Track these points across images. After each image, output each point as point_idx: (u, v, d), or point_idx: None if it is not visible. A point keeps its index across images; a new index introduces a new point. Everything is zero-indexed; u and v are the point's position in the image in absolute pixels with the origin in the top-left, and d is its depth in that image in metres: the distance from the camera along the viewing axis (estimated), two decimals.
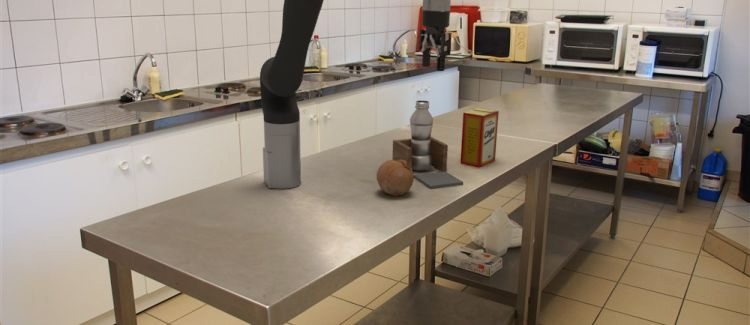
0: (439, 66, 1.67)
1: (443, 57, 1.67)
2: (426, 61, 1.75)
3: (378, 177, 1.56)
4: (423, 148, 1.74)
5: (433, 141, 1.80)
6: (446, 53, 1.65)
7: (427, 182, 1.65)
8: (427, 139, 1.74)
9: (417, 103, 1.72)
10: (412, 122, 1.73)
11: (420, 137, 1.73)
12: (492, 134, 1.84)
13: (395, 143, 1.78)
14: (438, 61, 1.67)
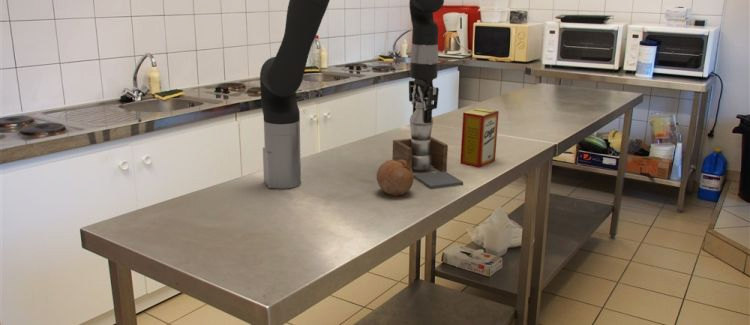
0: (426, 119, 1.70)
1: (430, 110, 1.70)
2: None
3: (378, 177, 1.56)
4: (423, 148, 1.74)
5: (433, 141, 1.80)
6: (432, 106, 1.68)
7: (427, 182, 1.65)
8: (427, 139, 1.74)
9: (417, 103, 1.72)
10: (412, 122, 1.73)
11: (420, 137, 1.73)
12: (492, 134, 1.84)
13: (395, 143, 1.78)
14: (425, 114, 1.70)
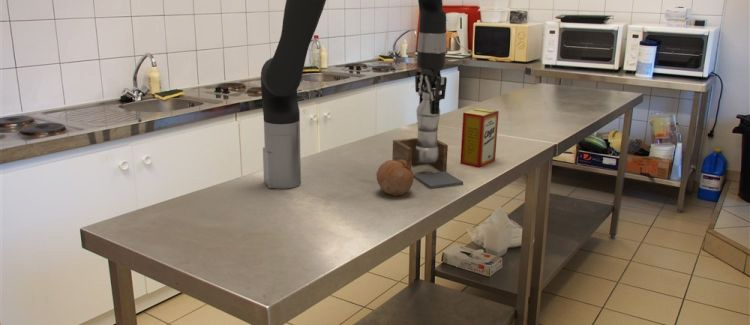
0: (433, 109, 1.66)
1: (437, 101, 1.65)
2: None
3: (378, 177, 1.56)
4: (430, 140, 1.70)
5: None
6: (440, 97, 1.63)
7: (427, 182, 1.65)
8: (434, 130, 1.69)
9: (424, 93, 1.68)
10: (419, 113, 1.68)
11: (427, 129, 1.69)
12: (492, 134, 1.84)
13: (395, 143, 1.78)
14: (432, 104, 1.66)
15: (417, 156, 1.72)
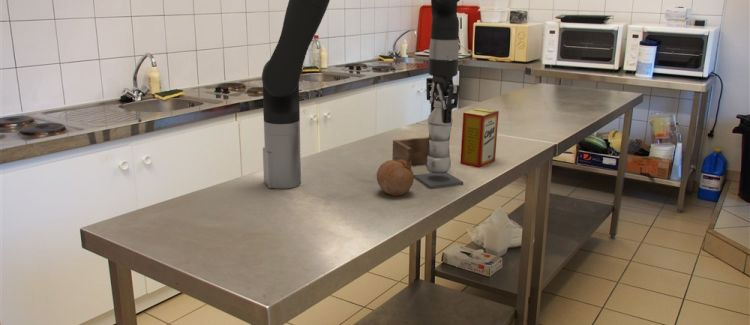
0: (445, 118, 1.60)
1: (449, 110, 1.59)
2: None
3: (378, 177, 1.56)
4: (441, 150, 1.64)
5: None
6: (453, 105, 1.57)
7: (427, 182, 1.65)
8: (446, 140, 1.64)
9: (436, 102, 1.62)
10: (430, 122, 1.63)
11: (439, 138, 1.63)
12: (492, 134, 1.84)
13: (395, 143, 1.78)
14: (444, 113, 1.60)
15: (428, 166, 1.66)
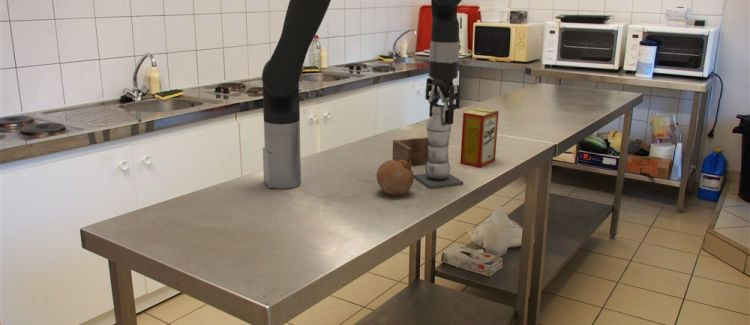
0: (447, 119, 1.59)
1: (452, 110, 1.58)
2: None
3: (378, 177, 1.56)
4: (440, 155, 1.64)
5: None
6: (455, 106, 1.56)
7: (427, 182, 1.65)
8: (445, 146, 1.64)
9: (434, 108, 1.62)
10: (429, 128, 1.63)
11: (438, 144, 1.63)
12: (492, 134, 1.84)
13: (395, 143, 1.78)
14: (446, 114, 1.59)
15: (427, 172, 1.67)
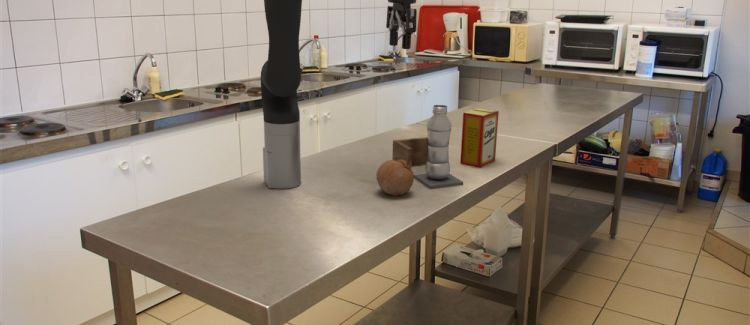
0: (405, 44, 1.61)
1: (409, 34, 1.60)
2: (393, 40, 1.69)
3: (378, 177, 1.56)
4: (440, 155, 1.64)
5: None
6: (411, 29, 1.58)
7: (427, 182, 1.65)
8: (445, 146, 1.64)
9: (435, 108, 1.62)
10: (429, 128, 1.63)
11: (438, 144, 1.63)
12: (492, 134, 1.84)
13: (395, 143, 1.78)
14: (404, 38, 1.61)
15: (428, 172, 1.67)
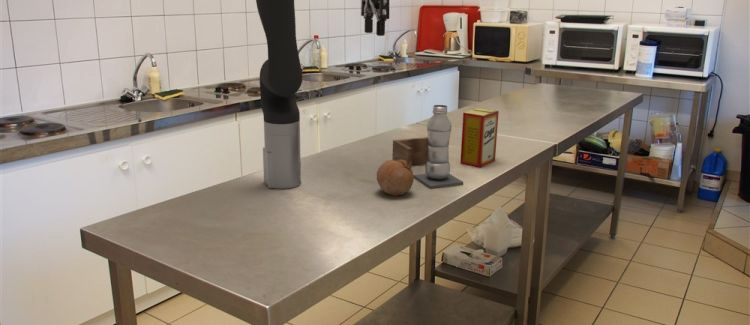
0: (379, 30, 1.64)
1: (382, 21, 1.64)
2: (368, 27, 1.73)
3: (378, 177, 1.56)
4: (441, 155, 1.64)
5: None
6: (385, 16, 1.62)
7: (427, 182, 1.65)
8: (445, 146, 1.64)
9: (435, 108, 1.62)
10: (429, 128, 1.63)
11: (438, 144, 1.63)
12: (492, 134, 1.84)
13: (395, 143, 1.78)
14: (378, 25, 1.64)
15: (428, 172, 1.67)
